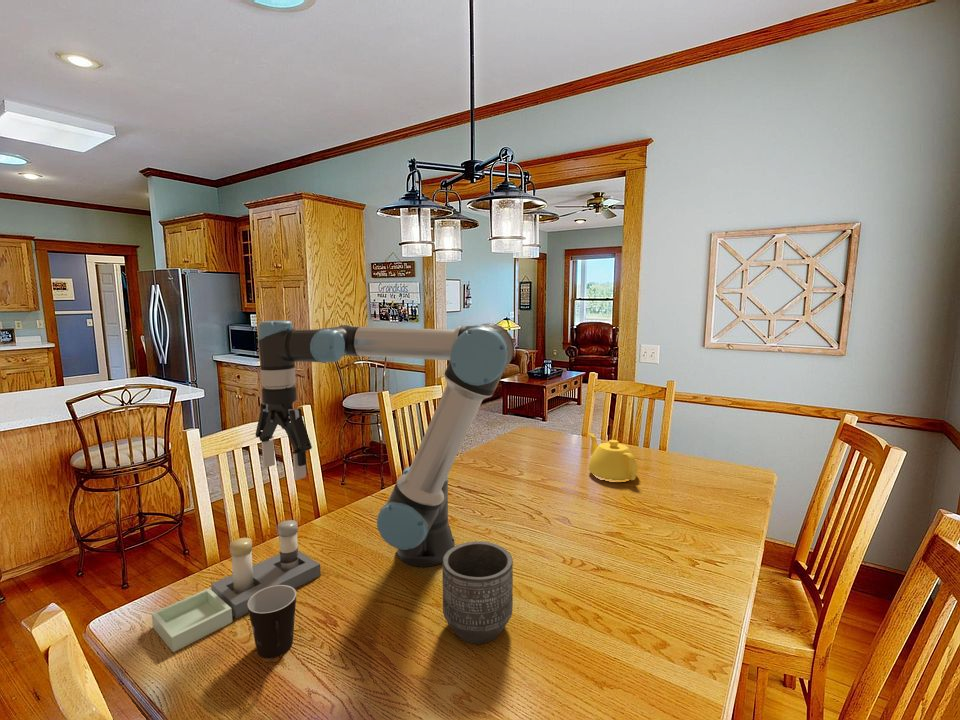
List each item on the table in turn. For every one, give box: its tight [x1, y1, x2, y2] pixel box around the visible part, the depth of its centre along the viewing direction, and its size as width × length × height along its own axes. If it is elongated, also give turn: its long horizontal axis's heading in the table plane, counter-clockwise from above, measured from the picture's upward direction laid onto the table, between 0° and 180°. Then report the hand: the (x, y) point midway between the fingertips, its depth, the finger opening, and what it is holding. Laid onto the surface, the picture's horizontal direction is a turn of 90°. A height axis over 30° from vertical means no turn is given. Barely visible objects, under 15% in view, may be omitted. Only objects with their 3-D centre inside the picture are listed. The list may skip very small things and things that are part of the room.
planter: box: [442, 540, 514, 645], centre depth 97 cm, size 14×14×15 cm
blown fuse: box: [277, 519, 299, 572], centre depth 115 cm, size 4×4×13 cm
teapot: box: [588, 432, 638, 481], centre depth 180 cm, size 25×18×14 cm
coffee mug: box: [247, 585, 297, 659], centre depth 90 cm, size 12×9×10 cm
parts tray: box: [151, 587, 233, 653], centre depth 98 cm, size 11×11×3 cm
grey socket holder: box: [210, 537, 322, 619], centre depth 111 cm, size 12×20×13 cm, turn 141°
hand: (284, 472), depth 116 cm, fingers open, 13 cm apart
